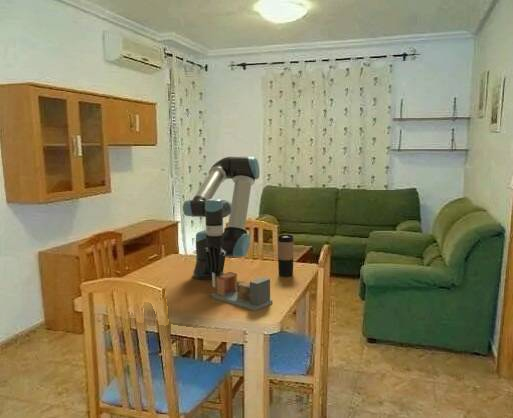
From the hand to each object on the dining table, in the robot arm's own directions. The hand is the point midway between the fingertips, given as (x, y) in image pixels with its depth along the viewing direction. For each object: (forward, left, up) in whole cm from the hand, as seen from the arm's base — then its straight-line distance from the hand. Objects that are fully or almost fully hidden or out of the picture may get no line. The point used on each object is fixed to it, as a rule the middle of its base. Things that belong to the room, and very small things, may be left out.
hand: (215, 286), depth 199 cm
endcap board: (+15, 0, -3) cm, 16 cm away
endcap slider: (+7, 0, -1) cm, 7 cm away
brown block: (+21, 0, -2) cm, 21 cm away
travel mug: (+8, +41, -3) cm, 42 cm away
